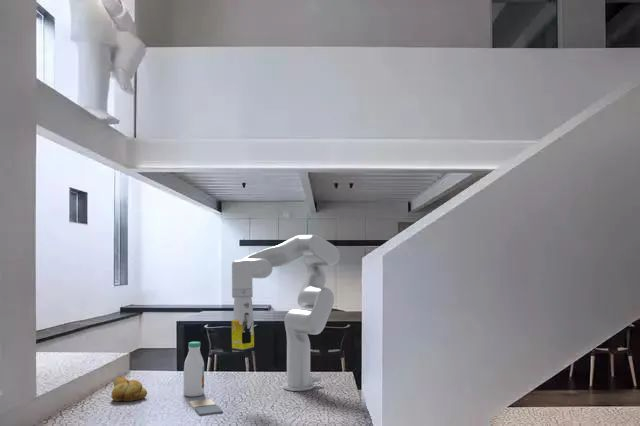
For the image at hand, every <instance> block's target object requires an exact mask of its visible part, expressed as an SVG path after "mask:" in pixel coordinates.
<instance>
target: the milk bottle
mask: <svg viewBox="0 0 640 426" xmlns="http://www.w3.org/2000/svg"><path fill="white" fill-rule="evenodd" d="M201 344H202V343H201V341H190V342H188V344H187V345H188V352H187V356H185V357H186V358H185V359H184V360H185V361H184V365H183V396H185V397H192V398H193V397H199V396H200V397H201V396H202V395H204V394H205V393H204V391H205V362H204V358H203V356H202V354H201V350H200V349H201Z"/></svg>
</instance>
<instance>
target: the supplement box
mask: <svg viewBox="0 0 640 426" xmlns="http://www.w3.org/2000/svg"><path fill="white" fill-rule="evenodd" d="M254 322H255V321H254V319H253V324H252V325H251V343H245V344H243V343H242V332H243V330H242V325H240V324H239V321H237V320H234V319H232V320H231V350H232V351H236V352H244V353H245V352H247V351H250V350H255V330H254V325H255V324H254ZM245 323H246V322H244V321H243V324H245ZM244 328H245V326H244Z"/></svg>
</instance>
